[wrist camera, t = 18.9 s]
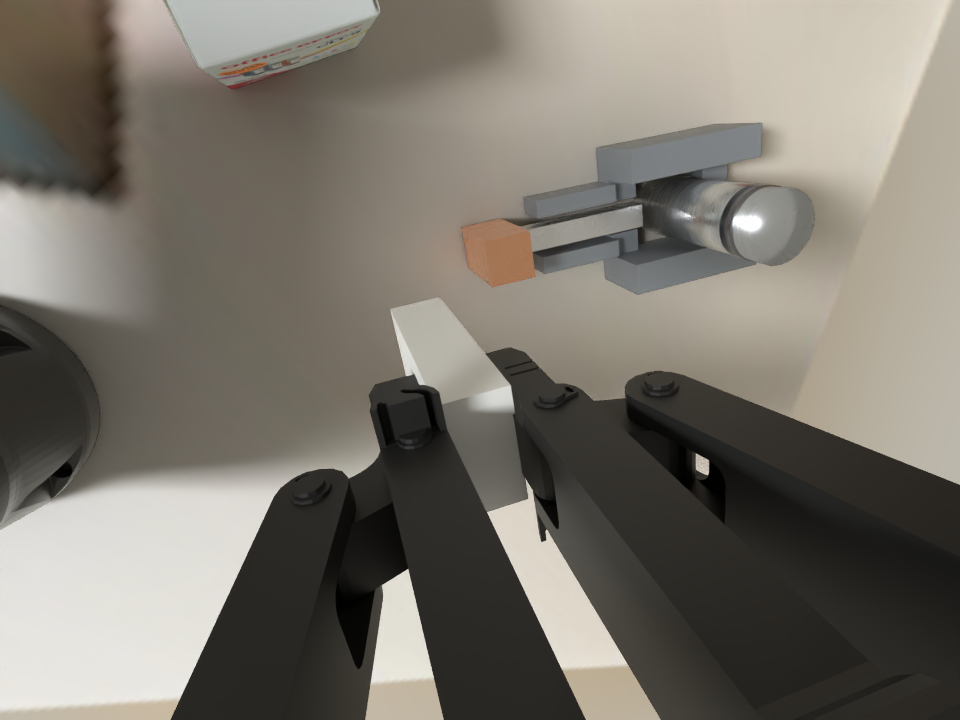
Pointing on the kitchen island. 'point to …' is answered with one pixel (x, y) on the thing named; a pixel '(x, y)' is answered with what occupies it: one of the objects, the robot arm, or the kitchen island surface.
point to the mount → (617, 177)
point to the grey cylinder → (729, 216)
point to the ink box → (267, 34)
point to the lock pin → (537, 240)
